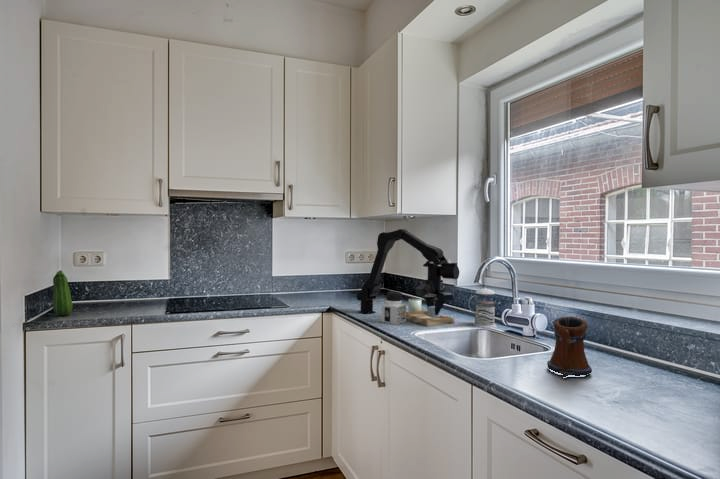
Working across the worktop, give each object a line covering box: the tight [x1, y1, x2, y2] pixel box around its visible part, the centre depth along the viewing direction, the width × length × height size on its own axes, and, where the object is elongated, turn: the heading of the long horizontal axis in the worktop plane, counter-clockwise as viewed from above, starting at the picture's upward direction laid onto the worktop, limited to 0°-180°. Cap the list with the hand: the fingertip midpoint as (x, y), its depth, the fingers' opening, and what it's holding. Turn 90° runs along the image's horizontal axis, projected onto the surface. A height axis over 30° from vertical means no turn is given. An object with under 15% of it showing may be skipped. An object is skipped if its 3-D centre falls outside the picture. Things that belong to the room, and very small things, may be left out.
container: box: [381, 290, 407, 325], centre depth 191 cm, size 8×8×13 cm
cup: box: [407, 298, 422, 312], centre depth 208 cm, size 6×6×7 cm
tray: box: [406, 309, 455, 327], centre depth 195 cm, size 20×14×2 cm
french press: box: [468, 266, 498, 329], centre depth 187 cm, size 10×12×25 cm
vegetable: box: [52, 270, 74, 317], centre depth 195 cm, size 7×7×20 cm
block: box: [426, 305, 442, 318], centre depth 191 cm, size 4×4×4 cm
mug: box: [546, 316, 593, 377], centre depth 123 cm, size 18×12×15 cm, turn 146°
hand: (433, 314), depth 191 cm, fingers closed on block, 4 cm apart
